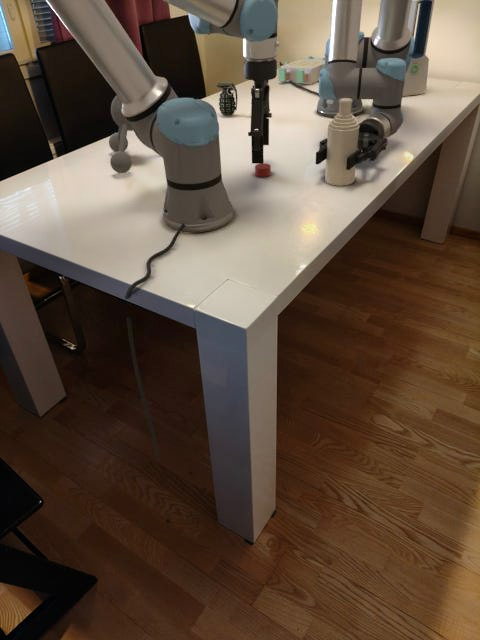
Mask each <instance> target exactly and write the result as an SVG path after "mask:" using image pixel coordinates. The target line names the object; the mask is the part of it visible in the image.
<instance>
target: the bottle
mask: <svg viewBox="0 0 480 640" xmlns="http://www.w3.org/2000/svg"><path fill="white" fill-rule="evenodd" d="M351 106H352V99H350V98H342V99H340V101H339V113H337V115H336V116H335V117H332V119H331V120H330V121H329V124H328V125H327V136H326V137H327V154H326V159H325V174H324V181H325V183H327V184H329V185H331V186H341V187H343V186H348V185H352V184H353V183H354V181H355V176H356V166H357V164H356V165H355V166H354V167H352V168H351V169H350V170H346V165H347V158H348V157H349V156H350V155H352V154H353V153H354V152H356V151H357V150H358V148H357V147H358V137H359V127H360V126H359V123H360V122H359V121H358V120H357V118H356V116H353V114H352V113H351Z"/></svg>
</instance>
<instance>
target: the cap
mask: <svg viewBox="0 0 480 640" xmlns="http://www.w3.org/2000/svg"><path fill="white" fill-rule="evenodd" d="M254 174H255V176H256V177H257V178H266V177H269V176H271V164H270V163H266V162H265V163H264V162H263V164H259V163H256V165H254Z"/></svg>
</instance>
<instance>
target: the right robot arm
mask: <svg viewBox="0 0 480 640" xmlns="http://www.w3.org/2000/svg"><path fill="white" fill-rule="evenodd" d="M331 1H332V2H331V3H332V4H331V13H330V14H331V15H330V29H329V38H328V39H327V40H326V43H325V53H324V58H325V68H323V69H321V70H320V76H319V81H318V92H317V91H314V90H311V89H309V88H306V87H304V86H302V85H299V84H298V83H294V82H292V81H291V80H290V81H289V82H288V83H290V84H292V85H293V86H295V87H297V88H299V89H302V90H304V91H306V92H308V93H311V94H314V95H317V96H319V99H318V102H317V106H316V113H317V114H318V115H320V116H322V117H327V118H334V117H335V116H336V115H337V113H339V101H340V99H342V98H350V99H352V106H351V113H352V114H353V116H354V117H356V116H359V115H360V114H362V113H363V100H372V104H371V105H372V106H371V115H369V116H367V118H365V119H363V120H362V121H361V122H359V126H360V127H359V137H358V147H357V151H356V152H354V153H353V154H352V155H350V156H349V157H348V158H347V165H346V170H350V169H351V168H352V167H354V166H355V165H356V166H357V165H358V164H361V163H362V162H365V161H367V160H369V162H374V161H376V160H377V159H378V157H379V155H380V154H381V153H382V152H383V151H385V150H387V145H388V138H390V137H391V136H393V135H394V134H396V133H397V132H398V130H399V129H400V128H401V126H402V125H403V123H404V119H405V117H404V116H405V115H404V111H403V110H402V100H403V96H402V95H403V89H404V82H405V74H406V73H407V71H408V68H409V66H410V63H411V59H412V54H413V50H414V41H415V36H414V37H413V36H411V33H410V30H409V29H408V27H407V26H408V20H409V15H410V9H411V4H412V0H380V3H379V12H378V19H377V26H376V27H375V28H374V29H373V30H372V32H371V36H365V32H364V31H361V19H362V10H363V9H362V8H363V0H331ZM279 64H280V67H281V66H283V65H284V64H283V63H282V62H281V61H279ZM318 148H319V149H318V151H316V152H315V165H320V164H321V163H323V162H324V161H326V154H327V138H324V139H322V140H320V141H319V146H318Z"/></svg>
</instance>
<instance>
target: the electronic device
mask: <svg viewBox="0 0 480 640" xmlns="http://www.w3.org/2000/svg"><path fill="white" fill-rule="evenodd" d="M434 5H435V0H412V4H411V9H410V15H409V20H408V26H407V27H408V29H409V30H410V33H411V36H413V37H414V50H413V54H412V59H411V63H410V66H409V68H408V71H407V73H406V74H405V82H404V89H403V95H402V97H408V96H416V95H423V94H424V93H425V92H426V90H427V86H428V85H427V84H428V75H429V74H428V72H429V62H430V59H429V58H428V56H427V49H428V48H427V46H428V43H429V36H430V29H431V24H432V16H433V12H434ZM415 29H416V30H415Z"/></svg>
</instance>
